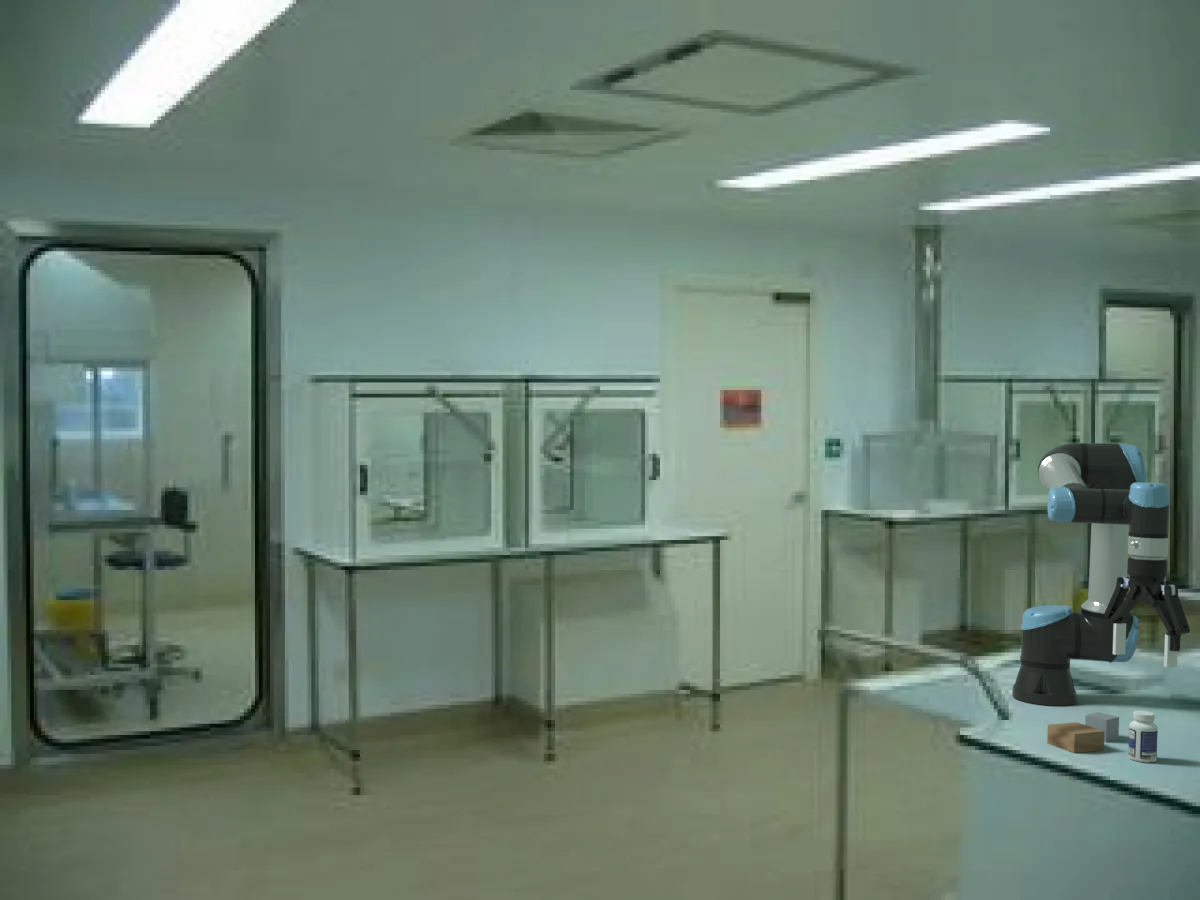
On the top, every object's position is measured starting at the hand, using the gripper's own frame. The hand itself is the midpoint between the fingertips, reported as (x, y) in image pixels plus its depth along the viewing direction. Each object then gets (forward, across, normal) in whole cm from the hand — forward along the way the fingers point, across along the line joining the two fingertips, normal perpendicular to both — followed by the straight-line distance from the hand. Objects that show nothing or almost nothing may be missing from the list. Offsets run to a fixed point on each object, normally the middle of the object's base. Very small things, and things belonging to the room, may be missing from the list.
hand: (1144, 660), depth 248 cm
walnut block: (+21, -12, -6) cm, 25 cm away
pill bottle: (+21, 0, +1) cm, 21 cm away
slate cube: (+21, -16, +5) cm, 27 cm away
